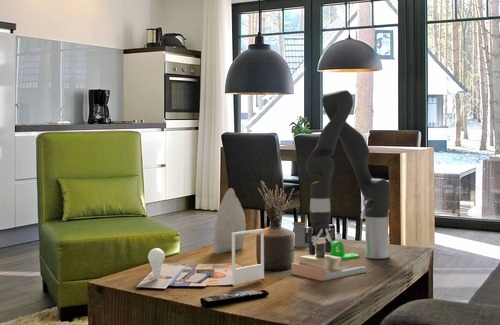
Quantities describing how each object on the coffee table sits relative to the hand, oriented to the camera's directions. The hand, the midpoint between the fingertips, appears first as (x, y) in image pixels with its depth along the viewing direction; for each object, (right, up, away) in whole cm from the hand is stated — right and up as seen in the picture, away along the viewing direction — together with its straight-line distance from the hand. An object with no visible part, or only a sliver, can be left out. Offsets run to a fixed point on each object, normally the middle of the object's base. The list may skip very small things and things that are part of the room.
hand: (320, 253), depth 227 cm
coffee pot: (0, -7, +51) cm, 51 cm away
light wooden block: (0, -7, 0) cm, 7 cm away
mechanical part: (+15, -7, +31) cm, 35 cm away
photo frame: (-27, -8, -10) cm, 30 cm away
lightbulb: (-60, -8, -5) cm, 61 cm away
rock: (-35, -7, +42) cm, 55 cm away
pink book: (+4, -8, +3) cm, 9 cm away
